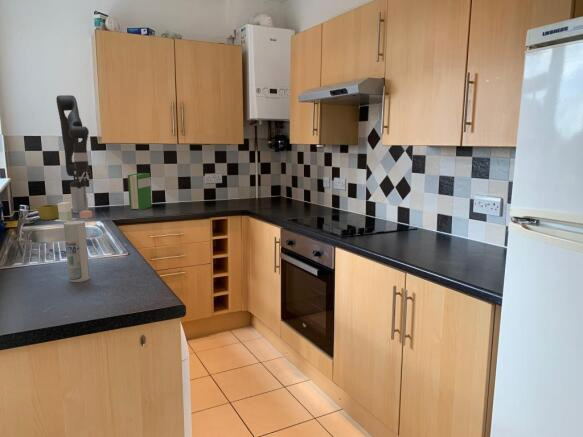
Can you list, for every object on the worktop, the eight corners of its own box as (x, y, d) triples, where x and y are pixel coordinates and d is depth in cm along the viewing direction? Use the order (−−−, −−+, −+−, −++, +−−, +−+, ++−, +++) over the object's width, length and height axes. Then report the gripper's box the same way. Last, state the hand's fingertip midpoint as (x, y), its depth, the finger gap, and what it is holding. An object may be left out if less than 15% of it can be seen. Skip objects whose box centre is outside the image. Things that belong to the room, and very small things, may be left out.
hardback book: (139, 210, 303) (137, 175, 299) (129, 209, 304) (127, 175, 300) (151, 206, 320) (149, 173, 316) (142, 206, 321) (140, 173, 317)
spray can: (64, 281, 150) (59, 223, 147) (79, 275, 156) (74, 220, 153) (79, 283, 148) (73, 224, 144) (94, 277, 154) (89, 221, 150)
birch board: (63, 219, 267) (63, 217, 267) (78, 219, 266) (78, 218, 266) (52, 222, 257) (52, 220, 257) (68, 222, 256) (68, 221, 256)
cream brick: (63, 210, 263) (62, 202, 263) (71, 210, 263) (70, 202, 262) (58, 211, 259) (57, 203, 258) (66, 211, 258) (65, 203, 257)
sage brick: (64, 218, 264) (63, 210, 263) (72, 218, 264) (71, 210, 263) (59, 220, 259) (58, 211, 259) (67, 220, 259) (66, 211, 258)
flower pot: (50, 222, 258) (49, 207, 257) (37, 221, 260) (36, 206, 259) (61, 219, 267) (59, 205, 265) (48, 219, 269) (47, 204, 267)
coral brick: (84, 218, 271) (84, 210, 270) (92, 218, 271) (91, 210, 270) (80, 219, 266) (79, 211, 266) (87, 220, 266) (87, 211, 265)
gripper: (82, 159, 270) (84, 186, 273) (67, 160, 256) (70, 188, 259) (93, 160, 269) (95, 186, 272) (79, 161, 255) (82, 188, 258)
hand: (83, 187), depth 265 cm, fingers open, 8 cm apart
